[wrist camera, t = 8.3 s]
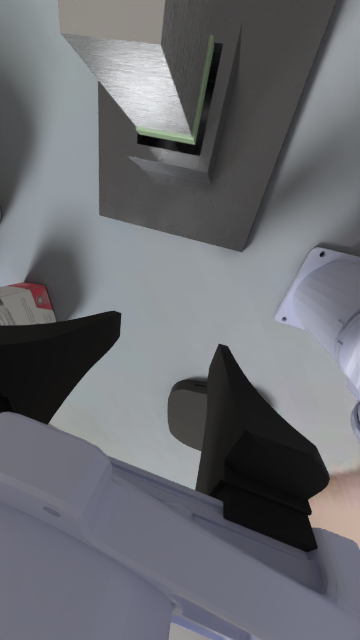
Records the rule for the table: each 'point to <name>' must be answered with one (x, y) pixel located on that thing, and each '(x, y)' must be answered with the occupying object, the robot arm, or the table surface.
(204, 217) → the stand
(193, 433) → the media streaming box
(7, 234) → the table surface
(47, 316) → the ink box
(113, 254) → the table surface
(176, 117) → the column
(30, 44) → the table surface
